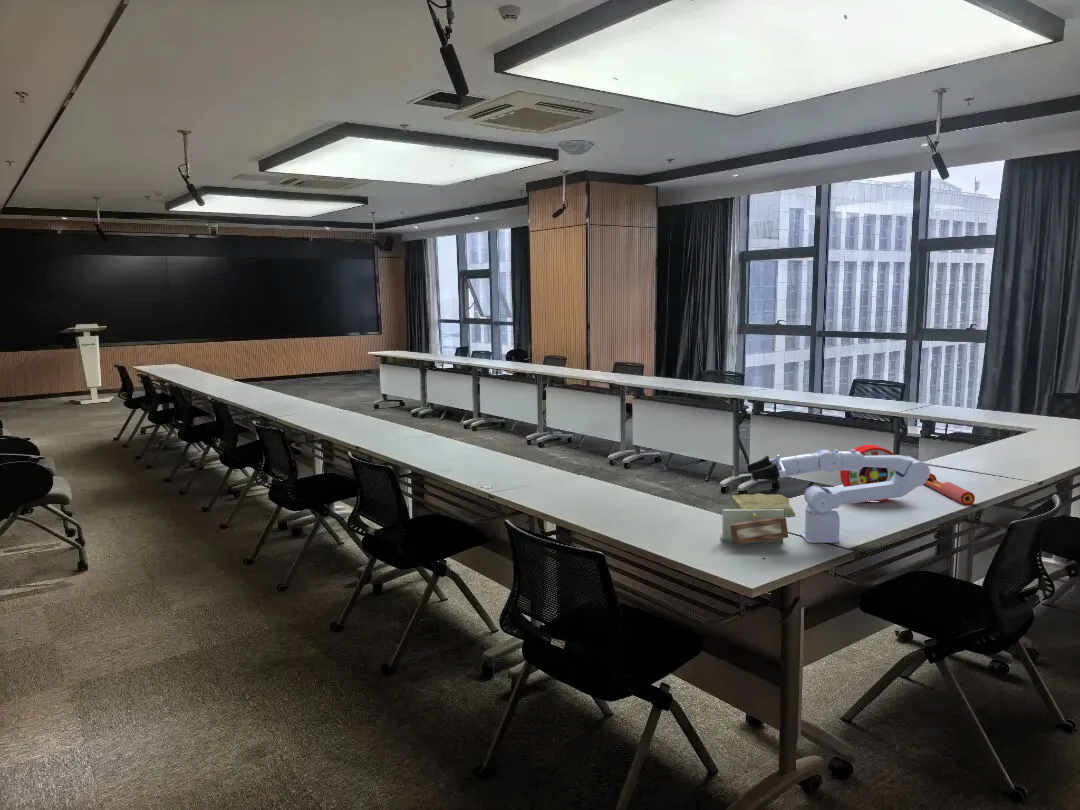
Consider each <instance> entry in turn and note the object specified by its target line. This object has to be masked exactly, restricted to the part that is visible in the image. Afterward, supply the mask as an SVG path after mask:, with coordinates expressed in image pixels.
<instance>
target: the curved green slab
mask: <svg viewBox="0 0 1080 810" xmlns="http://www.w3.org/2000/svg"><path fill="white" fill-rule="evenodd" d="M777 517H785V516H784V510H783V509H738V508H737V509H736V508H735V509H733V508H731V509H728V508H727V509H723V508H722V519H721V520H722V522H721V523H722V525H721V526H722V527H721V528H722V531H721V532H722V533H721V534H720V540H721V541H722V542H721V543H732V536H731V529H730V524H733V523H741V522H748V521H755V520H762V519H769V518H777ZM758 543H784V538H782V539H774V540H767V541H759V542H758Z"/></svg>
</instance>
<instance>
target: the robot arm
mask: <svg viewBox="0 0 1080 810" xmlns="http://www.w3.org/2000/svg"><path fill="white" fill-rule="evenodd" d="M854 449H855V448H854ZM854 449H853V448H852V449H849V451H845V450H839V449H833V451H830V450H829V449H823V448H820V449H818V450H817V451H816V452H812V453H811V452H810V453H804V454H797V455H792V456H791V455H790V456H785V457H781V455H780V454H776V455H775V456H776V457H775V458H771V459H770V456H769V455H766V456H764V457H763V458H762V459H759V460H758V461H754V462H753V463H750V464H748V465H747V466H746V468H747V473H751V478H752V480H762V481H763V480H764V481H769V482H774V483H779V479H783V478H787V477H790V476H797V475H798V476H799V475H802V474H811V473H815V472H821V471H825V472H829V473H834V472H835V471H841V470H853V471H859V470H860V469H862V468H863V467H880V468H892V469H894V470H895V471H894V475H893V477H892V478H891V480H890V481H885V482H878V483H870V484H863V485H855V486H848V487H844V486H842V487H831V486H820V485H811V486H809V487H807V488H806V489H805V491H804V494H803V497H804V500H805V502H806V503H807V505H806V507H805V517H804V518H805V519H804V520H805V522H804V523H805V525H804V532H801V533H800V535H801V537H802V538H803V539H804V540H805V541H806V542H807V543H809V544H810V543H813V544H815V543H816V544H818V543H822V544H823V543H830V544H832V543H841V541H840V523H841V522H840V514H839V512H838V511H837V510H834V509H838V508H840V507H841V506H843V505H848V504H856V503H864V502H866V501H873V500H881V499H887V500H889V499H895V498H902V497H905V496H906V495H907V494H909V493H910V492H912V491H914V490H915V489H916V488H918V487H922V486H925V485H924V484H925V482H926V481H927V479H928V478H929V475H930V473H931V469H930V467H929V465H928V464H927V463H926V462H922V461H920V460H918V459H916V458H915V457H913V456H912V455H902V454H895V455H875V456H863V455H862V454H861V453H860V452H856V450H854ZM866 503H867V502H866Z"/></svg>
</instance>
